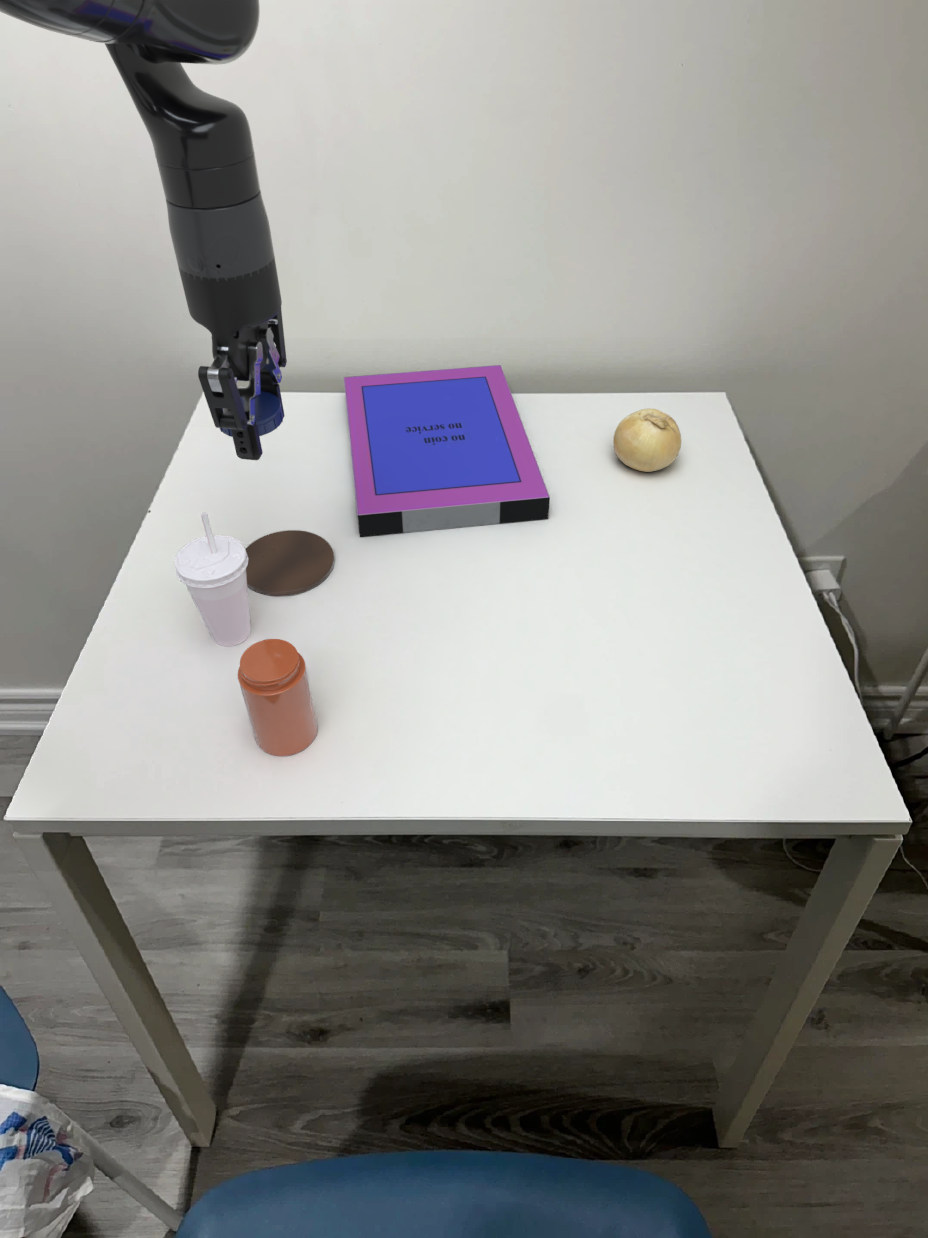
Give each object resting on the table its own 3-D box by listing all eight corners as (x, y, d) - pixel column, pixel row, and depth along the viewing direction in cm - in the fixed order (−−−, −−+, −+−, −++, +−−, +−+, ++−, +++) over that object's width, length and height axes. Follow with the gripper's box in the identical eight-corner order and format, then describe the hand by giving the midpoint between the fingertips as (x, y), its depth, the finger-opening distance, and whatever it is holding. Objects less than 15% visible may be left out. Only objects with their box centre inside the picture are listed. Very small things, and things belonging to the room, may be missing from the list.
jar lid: (272, 398, 80) (269, 384, 79) (292, 428, 77) (289, 413, 76) (211, 414, 79) (207, 400, 78) (228, 445, 75) (224, 431, 74)
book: (500, 365, 114) (549, 497, 93) (500, 385, 116) (548, 519, 95) (343, 377, 112) (357, 515, 91) (345, 397, 114) (359, 537, 93)
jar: (248, 755, 72) (226, 683, 66) (262, 705, 76) (243, 633, 69) (311, 757, 72) (296, 686, 65) (322, 708, 76) (309, 636, 69)
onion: (600, 468, 102) (606, 416, 97) (625, 436, 107) (632, 385, 102) (663, 487, 99) (674, 434, 94) (686, 454, 104) (697, 402, 99)
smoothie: (278, 625, 83) (252, 510, 73) (232, 666, 79) (199, 551, 69) (229, 601, 86) (198, 487, 76) (183, 640, 82) (144, 525, 72)
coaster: (224, 590, 87) (223, 586, 86) (257, 530, 94) (256, 525, 93) (319, 601, 86) (319, 596, 85) (345, 539, 93) (344, 534, 92)
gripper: (239, 296, 62) (276, 487, 73) (298, 223, 72) (322, 401, 83) (141, 289, 62) (194, 479, 74) (213, 218, 72) (249, 395, 84)
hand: (262, 437), depth 79 cm, fingers closed on jar lid, 5 cm apart
